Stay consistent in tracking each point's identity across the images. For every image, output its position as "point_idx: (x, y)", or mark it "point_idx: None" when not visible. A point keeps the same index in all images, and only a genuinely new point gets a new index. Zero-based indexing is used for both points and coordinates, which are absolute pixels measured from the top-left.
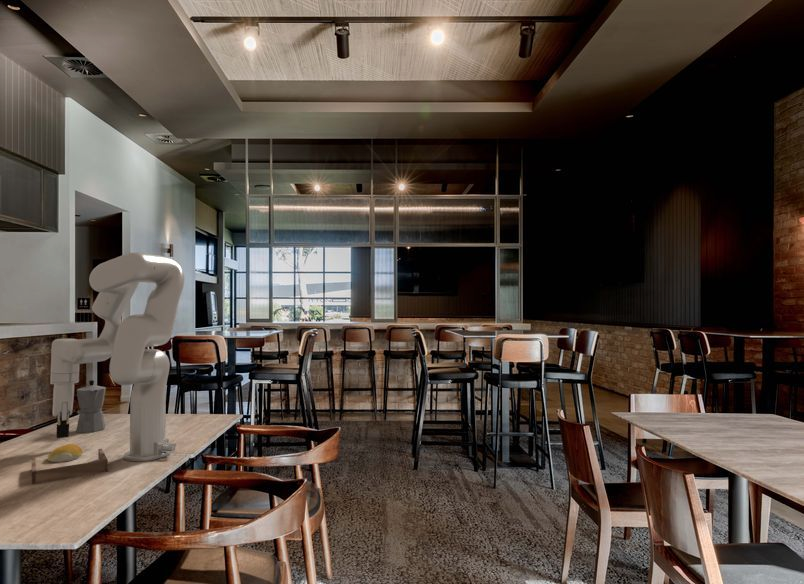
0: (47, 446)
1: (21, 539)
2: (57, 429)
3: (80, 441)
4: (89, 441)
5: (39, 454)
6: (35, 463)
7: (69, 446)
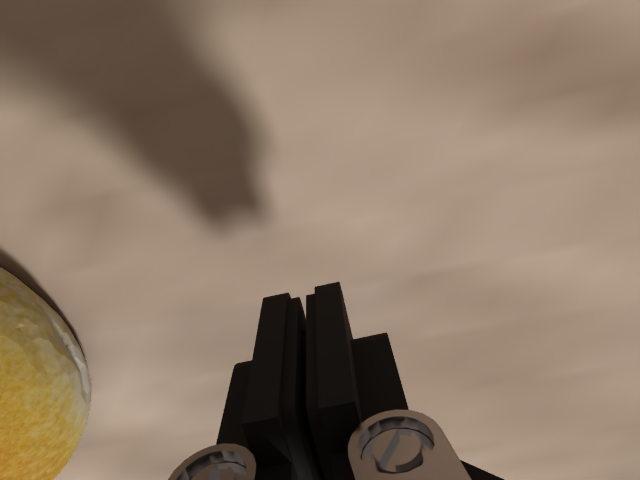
0: (563, 87)
1: None
2: (253, 375)
3: (610, 369)
4: (558, 440)
5: (177, 87)
6: None
7: None
